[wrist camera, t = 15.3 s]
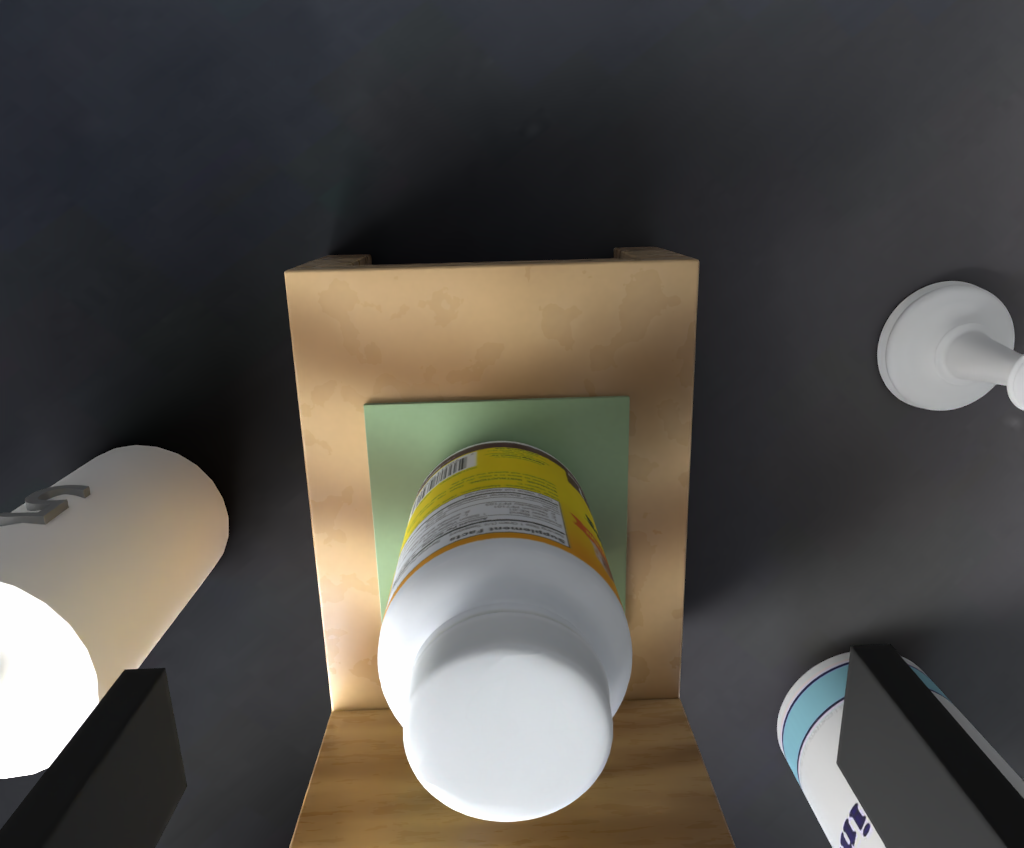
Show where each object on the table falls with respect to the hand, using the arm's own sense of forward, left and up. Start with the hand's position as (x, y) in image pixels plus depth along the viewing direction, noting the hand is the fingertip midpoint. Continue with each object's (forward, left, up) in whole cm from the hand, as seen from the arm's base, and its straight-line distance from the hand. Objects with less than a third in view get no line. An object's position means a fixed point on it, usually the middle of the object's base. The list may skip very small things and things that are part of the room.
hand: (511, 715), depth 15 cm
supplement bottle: (0, 0, -10) cm, 10 cm away
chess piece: (-4, +17, -16) cm, 24 cm away
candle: (+2, -14, -16) cm, 21 cm away
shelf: (0, 0, -16) cm, 16 cm away
